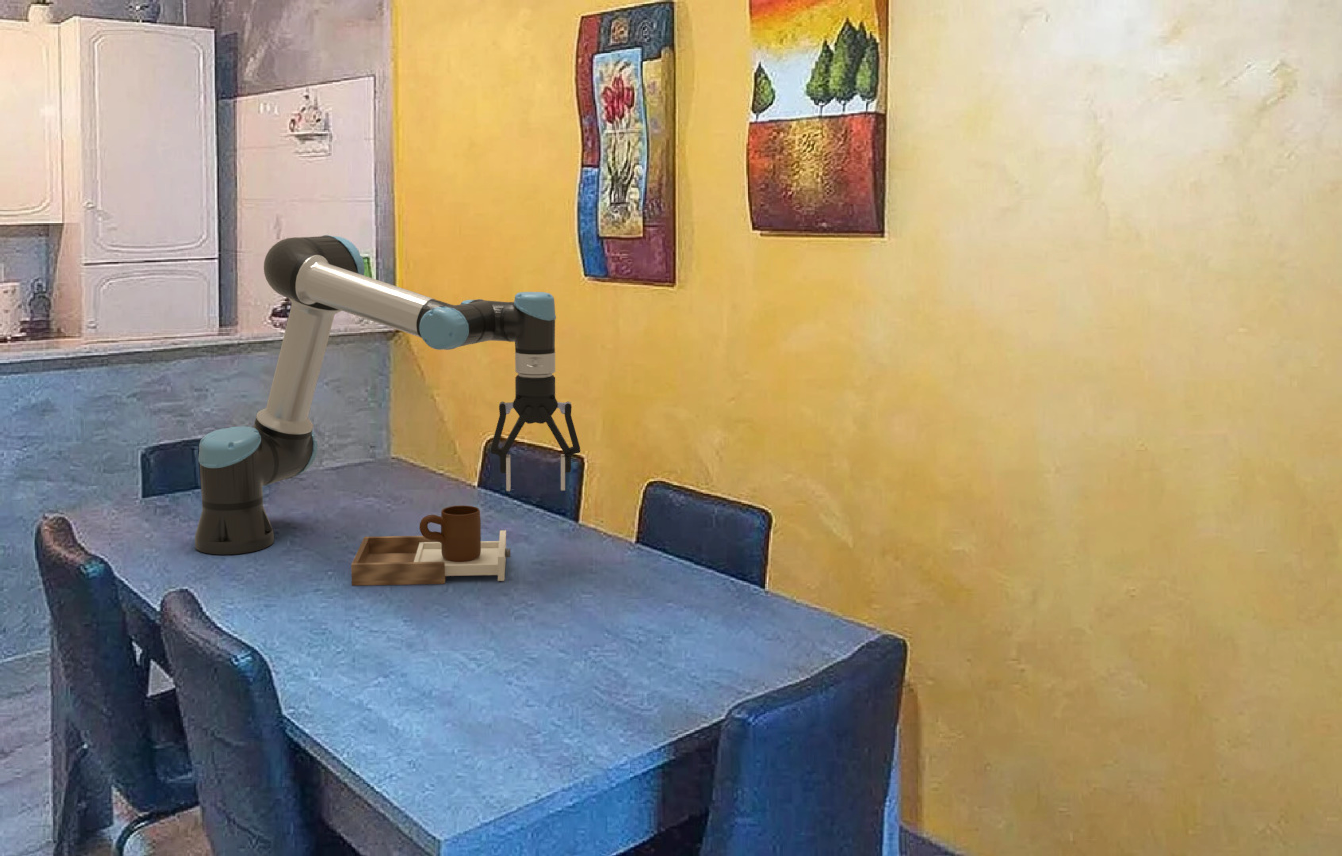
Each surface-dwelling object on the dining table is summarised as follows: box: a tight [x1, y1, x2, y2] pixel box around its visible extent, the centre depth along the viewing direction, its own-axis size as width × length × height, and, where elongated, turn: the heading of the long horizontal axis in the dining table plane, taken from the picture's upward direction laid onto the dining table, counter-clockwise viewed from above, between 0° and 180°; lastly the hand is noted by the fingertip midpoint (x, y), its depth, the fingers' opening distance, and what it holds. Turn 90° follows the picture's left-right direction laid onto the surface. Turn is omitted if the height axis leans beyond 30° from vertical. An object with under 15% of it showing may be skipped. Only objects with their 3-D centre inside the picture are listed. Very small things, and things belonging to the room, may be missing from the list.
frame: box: [350, 535, 447, 586], centre depth 231 cm, size 17×18×4 cm
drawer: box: [414, 529, 511, 582], centre depth 232 cm, size 18×18×5 cm
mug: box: [418, 505, 482, 562], centre depth 232 cm, size 12×8×9 cm, turn 119°
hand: (535, 488), depth 231 cm, fingers open, 10 cm apart
